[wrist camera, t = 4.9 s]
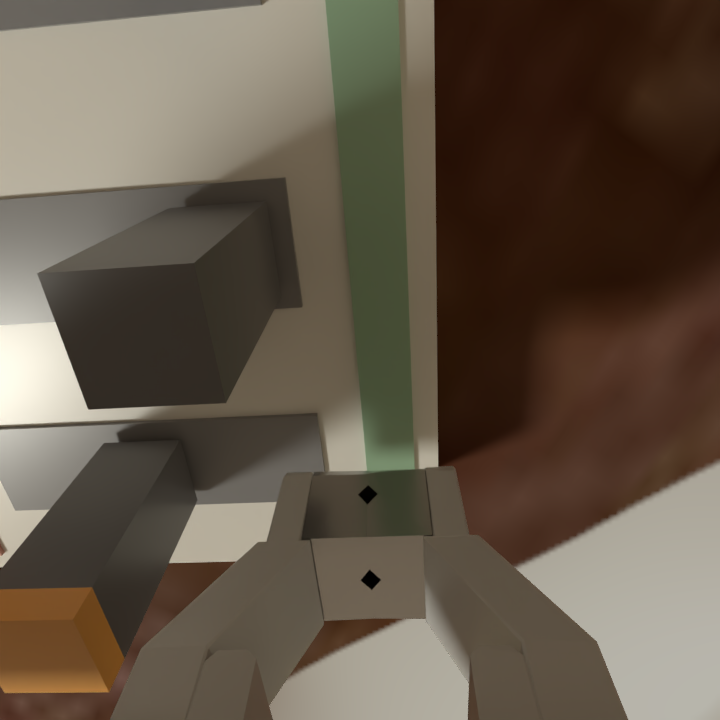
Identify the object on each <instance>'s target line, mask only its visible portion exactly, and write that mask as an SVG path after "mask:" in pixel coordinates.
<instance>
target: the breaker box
mask: <svg viewBox="0 0 720 720" xmlns="http://www.w3.org/2000/svg"><path fill="white" fill-rule="evenodd" d="M162 440H180V441H181V444H182V448H183V451H184V455H185V458H186V462H187V465H188V469H189V472H190V476H191V479H192V483H193V486H194V490H195V493H196V497H197V500H198V501H197V503H196V505H195V507H194V509H193V511H192V514H191V516H190V518H189V520H188V522H187V524H186V527H185V529H184V531H183V533H182V535H181V537H180V540H179V542H178V544H177V546H176V548H175V550H174V553H173V555H172V557H171V559H170V561H169V563H189V562H228V561H238V560H239V559H240V558H241V557H242V556H243V555H244V554H245V553H246V552H247V551H248V550H250V549H251V548H252V547H253V546H254V545H255V544H256V543H257V542H266V541H267V537H268V534H269V530H270V526H271V522H272V518H273V514H274V511H275V507H276V503H277V499H278V495H279V491H280V488H281V484H282V480H283V478H284V476H285V475H286V473H296V472H313V473H314V472H327V471H380V470H401V469H423V468H424V469H425V468H427V467H438V386H437V276H436V165H435V54H434V0H0V567H3V566H4V565H5V564H6V562H7V561H8V560H9V559H10V558H11V556H12V555H13V554H14V553H15V551H16V550H17V549H18V548H19V547H20V545H21V544H22V543H23V542H24V540H25V539H26V538H27V537H28V535H29V534H30V533H31V532H32V531H33V529H34V528H35V527H36V526H37V524H38V523H39V522H40V521H41V520H42V518H43V517H44V516H45V515H46V513H47V512H48V511H49V510H50V508H51V507H52V506H53V505H54V504H55V502H56V501H57V500H58V499H59V497H60V496H61V495H62V494H63V493H64V491H65V490H66V489H67V488H68V486H69V485H70V484H71V483H72V481H73V480H74V479H75V478H76V477H77V475H78V474H79V473H80V472H81V470H82V469H83V468H84V467H85V466H86V464H87V463H88V462H89V461H90V459H91V458H92V457H93V456H94V454H95V453H96V452H97V451H98V450H99V448H100V447H101V446H102V445H103V443H114V442H138V441H162Z"/></svg>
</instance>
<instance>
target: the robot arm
mask: <svg viewBox="0 0 720 720" xmlns="http://www.w3.org/2000/svg"><path fill="white" fill-rule="evenodd" d="M370 618H400V619H426V622H427V623H428V625H429V626H430V628H431V629H432V630H433V632H434V633H435V635H436V636H437V638H438V639H439V641H440V642H441V644H442V645H443V646H444V648H445V649H446V651H447V652H448V654H449V655H450V656H451V658H452V659H453V661H454V662H455V664H456V665H457V667H458V668H459V670H460V671H461V673H462V674H463V675H464V677H465V678H466V680H467V681H468V683H469V700H468V720H628V719H627V716H626V713H625V711H624V708H623V706H622V703H621V701H620V698H619V696H618V694H617V691H616V688H615V686H614V683H613V681H612V678H611V676H610V673H609V671H608V668H607V666H606V663H605V661H604V659H603V656H602V654H601V651H600V648H599V646H598V644H597V641H595V640H594V639H593V638H592V637H591V636H590V635H589V634H587V632H585V631H584V630H583V629H582V628H581V627H580V626H579V625H578V624H577V623H575V622H574V621H573V620H572V619H571V618H570V617H569V616H568V615H567V614H565V613H564V612H563V611H562V610H561V609H560V608H559V607H558V606H556V605H555V604H554V603H553V602H552V601H551V600H550V599H549V598H548V597H546V596H545V595H544V594H543V593H542V592H541V591H540V590H539V589H538V588H537V587H535V586H534V585H533V584H532V583H531V582H530V581H529V580H528V579H526V578H525V577H524V576H523V575H522V574H521V573H520V572H519V571H517V569H515V568H514V567H513V566H512V565H511V564H510V563H509V562H508V561H507V560H505V559H504V558H503V557H502V556H501V555H500V554H499V553H498V552H497V551H495V550H494V549H493V548H492V547H491V546H490V545H489V544H488V543H487V542H485V541H484V540H483V539H482V538H481V537H480V536H479V535H469V532H468V527H467V522H466V517H465V512H464V508H463V503H462V498H461V493H460V488H459V484H458V479H457V474H456V469H455V468H454V467H453V466H443V467H427V468H425V469H424V468H423V469H401V470H380V471H327V472H314V473H313V472H296V473H286V475H285V476H284V478H283V480H282V484H281V488H280V491H279V495H278V499H277V503H276V507H275V511H274V514H273V518H272V522H271V526H270V530H269V534H268V537H267V541H266V542H257V543H256V544H255V545H254V546H253V547H252V548H251V549H250V550H248V551H247V552H246V553H245V554H244V555H243V556H242V557H241V558H240V559H239V560H238V561H236V562H235V563H234V564H233V565H232V566H231V567H230V568H229V569H228V570H227V571H225V572H224V573H223V574H222V575H221V576H220V577H219V578H218V579H217V580H216V581H215V582H213V583H212V584H211V585H210V586H209V587H208V588H207V589H206V590H205V591H204V592H202V593H201V594H200V595H199V596H198V597H197V598H196V599H195V600H194V601H193V602H192V603H190V604H189V605H188V606H187V607H186V608H185V609H184V610H183V611H182V612H181V613H179V614H178V615H177V616H176V617H175V618H174V619H173V620H172V621H171V622H170V623H168V624H167V625H166V626H165V627H164V628H163V629H162V630H161V631H160V632H159V633H158V634H156V635H155V636H154V637H153V638H152V639H151V640H150V641H149V642H148V643H147V644H145V645H144V646H143V647H142V648H141V650H140V653H139V655H138V657H137V659H136V662H135V664H134V666H133V668H132V671H131V673H130V675H129V677H128V680H127V682H126V684H125V687H124V689H123V691H122V693H121V696H120V698H119V700H118V702H117V705H116V707H115V709H114V711H113V714H112V716H111V718H110V720H273V719H272V715H271V711H270V707H269V705H270V704H271V702H272V700H273V699H274V698H275V696H276V695H277V693H278V692H279V690H280V688H281V687H282V686H283V684H284V683H285V681H286V680H287V678H288V677H289V675H290V674H291V672H292V671H293V669H294V668H295V666H296V665H297V663H298V662H299V660H300V659H301V657H302V656H303V655H304V653H305V652H306V650H307V649H308V647H309V646H310V644H311V643H312V641H313V640H314V638H315V637H316V635H317V634H318V632H319V631H320V629H321V628H322V626H323V625H324V621H330V620H350V619H370Z"/></svg>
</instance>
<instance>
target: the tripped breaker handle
mask: <svg viewBox="0 0 720 720" xmlns="http://www.w3.org/2000/svg"><path fill="white" fill-rule="evenodd" d="M197 501H198V500H197V497H196V493H195V490H194V486H193V483H192V479H191V476H190V472H189V469H188V465H187V462H186V458H185V455H184V451H183V448H182V444H181V441H180V440H162V441H138V442H114V443H103V445H102V446H101V447H100V448H99V450H98V451H97V452H96V453H95V454H94V456H93V457H92V458H91V459H90V461H89V462H88V463H87V464H86V466H85V467H84V468H83V469H82V470H81V472H80V473H79V474H78V475H77V477H76V478H75V479H74V480H73V481H72V483H71V484H70V485H69V486H68V488H67V489H66V490H65V491H64V493H63V494H62V495H61V496H60V497H59V499H58V500H57V501H56V502H55V504H54V505H53V506H52V507H51V508H50V510H49V511H48V512H47V513H46V515H45V516H44V517H43V518H42V520H41V521H40V522H39V523H38V524H37V526H36V527H35V528H34V529H33V531H32V532H31V533H30V534H29V535H28V537H27V538H26V539H25V540H24V542H23V543H22V544H21V545H20V547H19V548H18V549H17V550H16V551H15V553H14V554H13V555H12V556H11V558H10V559H9V560H8V561H7V562H6V564H5V565H4V566H3V567H2V569H1V570H0V686H1V688H2V689H3V691H4V692H5V693H69V692H109V691H110V689H111V687H112V685H113V683H114V680H115V678H116V676H117V674H118V672H119V670H120V667H121V665H122V663H123V661H124V659H125V657H126V654H127V652H128V650H129V648H130V646H131V644H132V641H133V639H134V637H135V635H136V633H137V631H138V628H139V626H140V624H141V622H142V620H143V618H144V615H145V613H146V611H147V609H148V607H149V605H150V602H151V600H152V598H153V596H154V594H155V592H156V589H157V587H158V585H159V583H160V581H161V579H162V576H163V574H164V572H165V570H166V568H167V566H168V563H169V561H170V559H171V557H172V555H173V553H174V550H175V548H176V546H177V544H178V542H179V540H180V537H181V535H182V533H183V531H184V529H185V527H186V524H187V522H188V520H189V518H190V516H191V514H192V511H193V509H194V507H195V505H196V503H197Z"/></svg>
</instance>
